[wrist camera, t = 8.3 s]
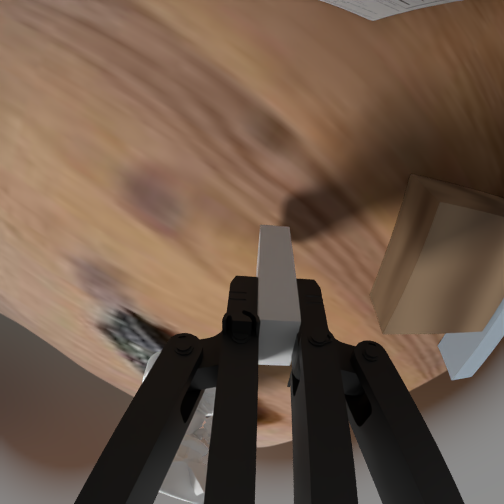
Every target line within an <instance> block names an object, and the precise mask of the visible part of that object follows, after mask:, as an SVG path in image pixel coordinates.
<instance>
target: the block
mask: <svg viewBox="0 0 504 504" xmlns="http://www.w3.org/2000/svg"><path fill="white" fill-rule="evenodd" d="M370 298H371V301H372V304H373V307H374V310H375V313H376V316H377V319H378V322H379V325H380V328H381V331H382V334H441V333H465V332H482V331H483V329H484V328H485V327H486V325H487V324H488V322H489V321H490V319H491V318H492V316H493V315H494V313H495V311H496V310H497V308H498V307H499V305H500V303H501V302H502V300H503V298H504V198H501V197H498V196H495V195H492V194H488V193H485V192H481V191H478V190H474V189H471V188H467V187H464V186H460V185H456V184H452V183H448V182H444V181H440V180H436V179H432V178H428V177H423V176H419V175H414V174H410V177H409V181H408V185H407V188H406V192H405V195H404V198H403V202H402V205H401V208H400V211H399V215H398V218H397V221H396V224H395V227H394V230H393V233H392V236H391V239H390V242H389V245H388V247H387V250H386V253H385V256H384V259H383V261H382V264H381V267H380V269H379V272H378V275H377V277H376V280H375V282H374V285H373V287H372V290H371V292H370Z"/></svg>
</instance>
